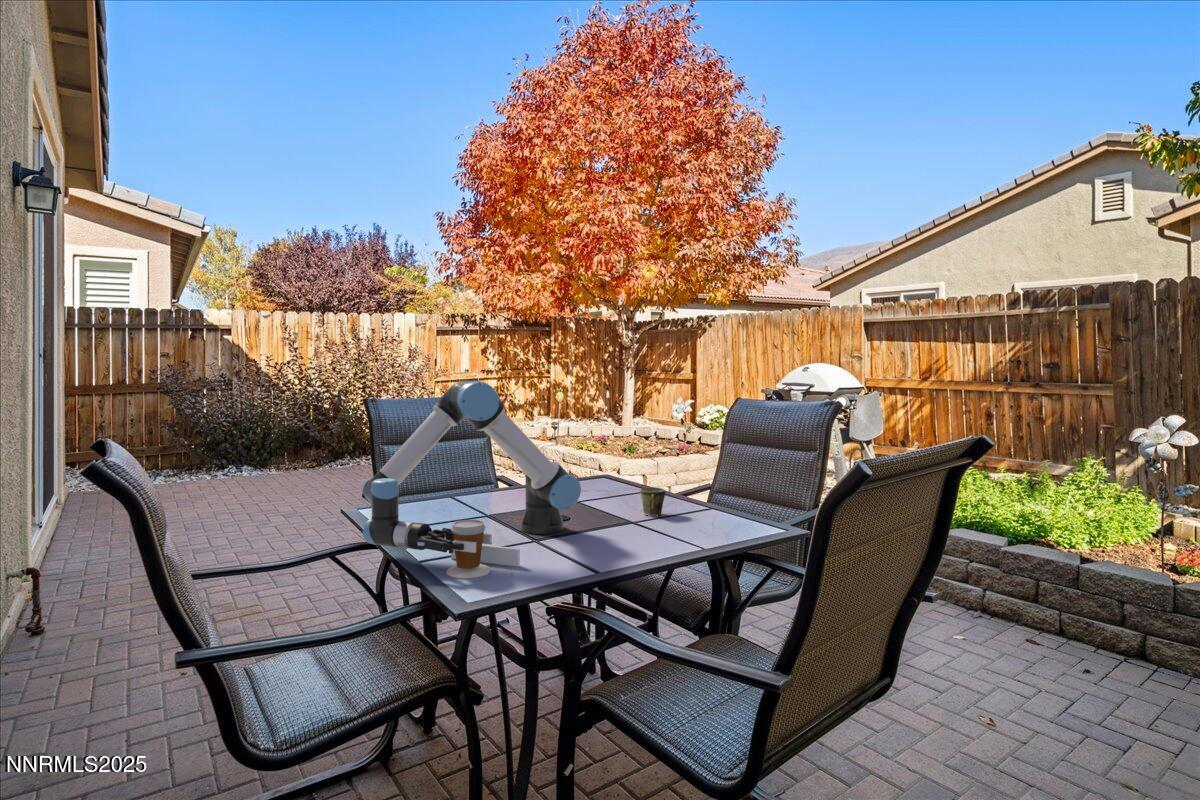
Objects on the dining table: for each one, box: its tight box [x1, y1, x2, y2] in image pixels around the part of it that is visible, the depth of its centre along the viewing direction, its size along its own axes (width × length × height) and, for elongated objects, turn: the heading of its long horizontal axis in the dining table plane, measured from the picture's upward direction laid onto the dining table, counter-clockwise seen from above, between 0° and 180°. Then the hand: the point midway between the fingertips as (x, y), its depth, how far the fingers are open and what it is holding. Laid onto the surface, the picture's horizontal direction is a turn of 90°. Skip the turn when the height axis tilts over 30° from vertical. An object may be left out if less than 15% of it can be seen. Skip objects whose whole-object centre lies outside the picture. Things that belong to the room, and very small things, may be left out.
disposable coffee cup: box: [450, 519, 487, 569], centre depth 183 cm, size 10×10×12 cm
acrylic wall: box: [450, 541, 521, 568], centre depth 192 cm, size 22×1×5 cm, turn 71°
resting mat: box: [446, 563, 491, 580], centre depth 183 cm, size 12×12×1 cm
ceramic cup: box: [639, 486, 667, 517], centre depth 253 cm, size 13×10×10 cm
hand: (483, 543), depth 181 cm, fingers closed on disposable coffee cup, 8 cm apart
